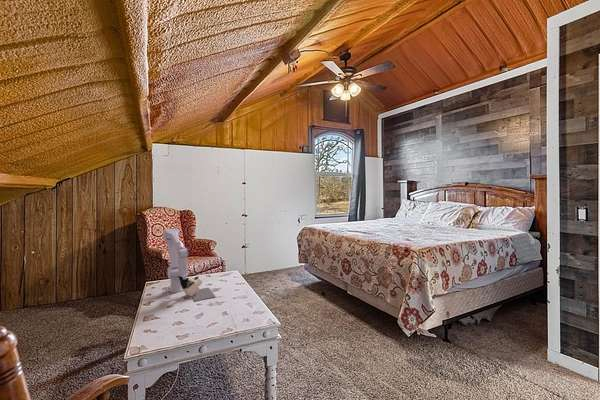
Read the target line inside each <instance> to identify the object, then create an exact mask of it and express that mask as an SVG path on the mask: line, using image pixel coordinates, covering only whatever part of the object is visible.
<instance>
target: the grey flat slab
mask: <svg viewBox="0 0 600 400" xmlns="http://www.w3.org/2000/svg"><path fill="white" fill-rule="evenodd" d="M191 298H192V299H193V301H194V302H199V301H204V300H205V301H206V300H209V299H213V298H216V295H215V294H214V293H213V291H212V289H210V288H209V287H204V288H199V290H198V291H197V292H196V293H195V294H194V295H193V296H192V297H191Z"/></svg>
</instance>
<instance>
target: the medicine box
mask: <svg viewBox="0 0 600 400" xmlns="http://www.w3.org/2000/svg"><path fill="white" fill-rule="evenodd" d="M202 284H203V280H202V279H201V278H200V276H195V277H193V279H192V280H191V279H189V280H188V282H187V287H186V288H185V289H183V288H182V287H181V288H182V290H183V291H182V292H184V294H185V295H187V296H188V297H191V298H193V297H192V296H193V295H194V294H195V293H196V292H197V291H198V290H199V289H200V286H202Z"/></svg>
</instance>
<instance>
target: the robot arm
mask: <svg viewBox="0 0 600 400" xmlns="http://www.w3.org/2000/svg"><path fill="white" fill-rule="evenodd" d="M179 235H180V230H179V228H176V227H175V228H171V229H170V228H169V229H167V228H166V229H163V230H162V238H163V242H164V243H166V245H167V250H168V256H169V261H170V263H169V264H170V265H169V266H168V268H167V270H166V271H167V273H166V274H167V277H168V279H170V287H169V291H170V293H171V294H172V293H177V292H184V291H183V290H182V288H183V289H185V288H186V287H187V282H188V280H190V278H189V277H187V276H188V275H189V273H188V272H189V270H188V257H189V255H190V253H189V249H188V247H185V245H184V243H183V242H182V241H180V238H179ZM181 287H182V288H181Z"/></svg>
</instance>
